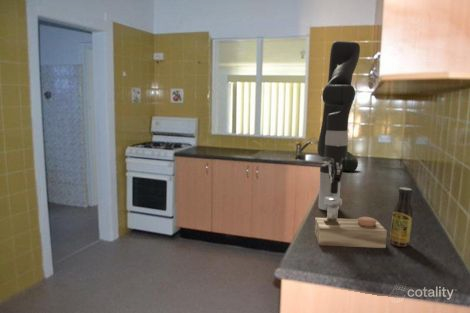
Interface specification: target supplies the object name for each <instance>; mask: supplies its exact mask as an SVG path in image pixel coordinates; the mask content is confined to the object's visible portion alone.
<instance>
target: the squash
mask: <svg viewBox="0 0 470 313" xmlns="http://www.w3.org/2000/svg"><path fill="white" fill-rule="evenodd" d="M358 167H359V161H358V158H357V157H356V156H355V155H353V153H351V152H349V151H347V157H346V158H342V170H343V172H344V171H348V172H350V173H351V172H354V171H356V170H357V169H358Z"/></svg>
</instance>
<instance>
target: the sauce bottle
mask: <svg viewBox="0 0 470 313" xmlns="http://www.w3.org/2000/svg"><path fill="white" fill-rule="evenodd" d="M412 193H413V189H412V188H409V187H405V186H404V187H403V186H402V187H398V199H397V202H396V203H395V204H394V207H393V211H392V217H391V224H390V225H391V226H390V233H389V234H390V235H389V243H390V244H391V245H393V246H396V247H400V248H404V247H408V246H409V244H410V240H411V232H412V231H411V230H412V222H413V213H414V210H413V209H414V208H413V206H412V204H411V200H412V199H411V198H412Z"/></svg>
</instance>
